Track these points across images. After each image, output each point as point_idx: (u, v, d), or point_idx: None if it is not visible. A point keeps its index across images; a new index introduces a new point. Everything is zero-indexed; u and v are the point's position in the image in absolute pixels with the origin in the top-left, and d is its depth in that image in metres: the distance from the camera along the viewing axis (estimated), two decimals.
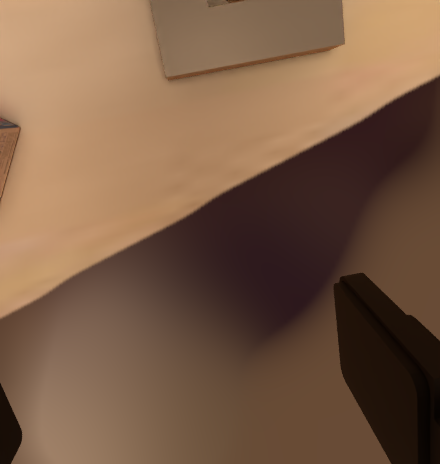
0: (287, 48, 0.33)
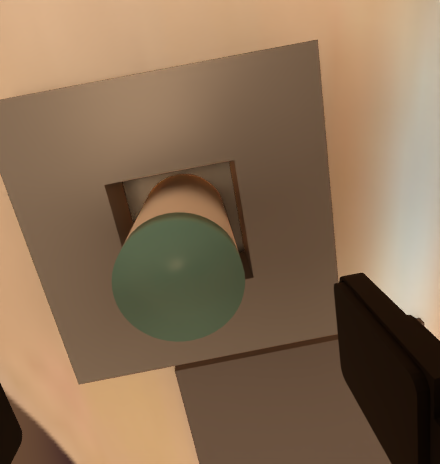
0: (59, 309, 0.21)
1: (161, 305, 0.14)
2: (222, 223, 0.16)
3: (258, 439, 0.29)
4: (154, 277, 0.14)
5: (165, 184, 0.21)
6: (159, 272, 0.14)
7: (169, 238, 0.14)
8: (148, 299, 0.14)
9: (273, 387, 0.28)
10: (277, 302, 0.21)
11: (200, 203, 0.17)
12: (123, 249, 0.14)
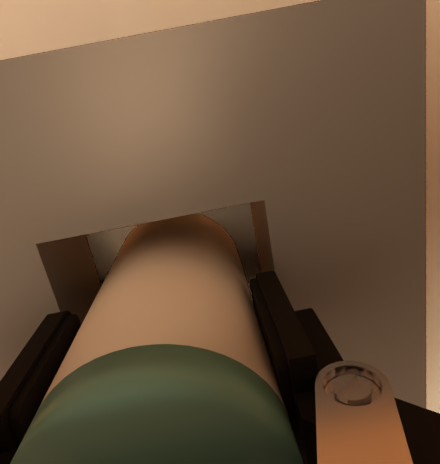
0: None
1: None
2: (252, 346, 0.08)
3: None
4: None
5: (146, 234, 0.13)
6: None
7: (132, 431, 0.05)
8: None
9: None
10: None
11: (206, 296, 0.08)
12: (18, 458, 0.06)
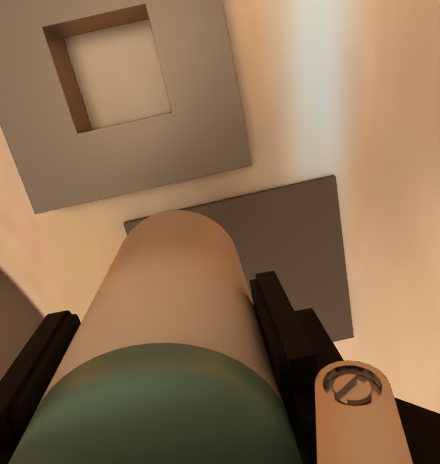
0: (14, 142, 0.25)
1: None
2: (251, 345, 0.08)
3: None
4: None
5: (146, 233, 0.13)
6: None
7: (131, 430, 0.05)
8: None
9: None
10: (193, 135, 0.26)
11: (205, 295, 0.08)
12: (17, 456, 0.05)
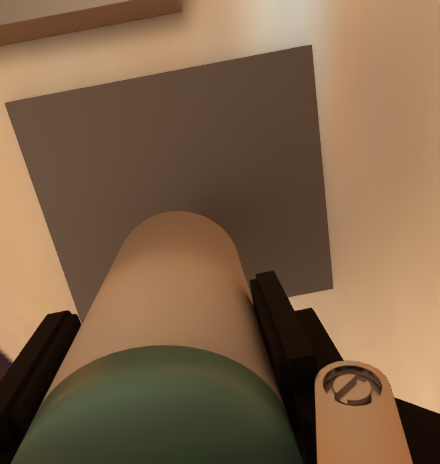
0: None
1: None
2: (252, 347, 0.08)
3: (122, 212, 0.24)
4: None
5: (146, 234, 0.13)
6: None
7: (132, 433, 0.05)
8: None
9: (131, 134, 0.23)
10: None
11: (206, 296, 0.08)
12: (18, 459, 0.05)
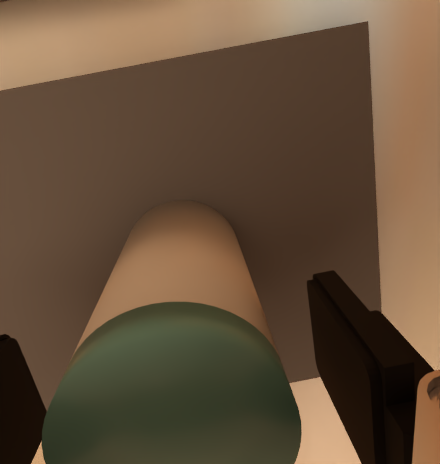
0: None
1: None
2: (252, 309, 0.09)
3: (87, 267, 0.17)
4: (126, 435, 0.07)
5: (155, 219, 0.14)
6: (136, 426, 0.07)
7: (156, 366, 0.07)
8: None
9: (97, 155, 0.15)
10: None
11: (212, 268, 0.10)
12: (63, 388, 0.07)
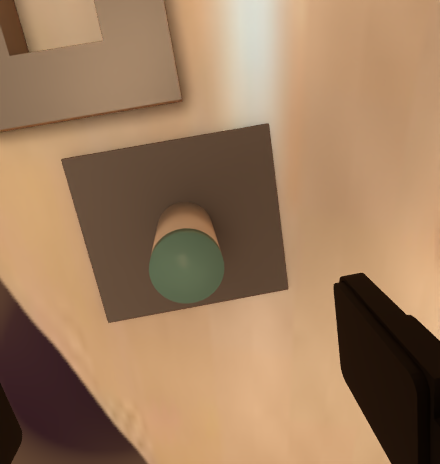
0: None
1: (176, 281, 0.25)
2: (212, 235, 0.27)
3: (138, 233, 0.34)
4: (173, 264, 0.25)
5: (174, 209, 0.32)
6: (176, 261, 0.25)
7: (183, 242, 0.24)
8: (168, 277, 0.25)
9: (146, 180, 0.33)
10: (124, 65, 0.27)
11: (199, 223, 0.27)
12: (157, 248, 0.24)
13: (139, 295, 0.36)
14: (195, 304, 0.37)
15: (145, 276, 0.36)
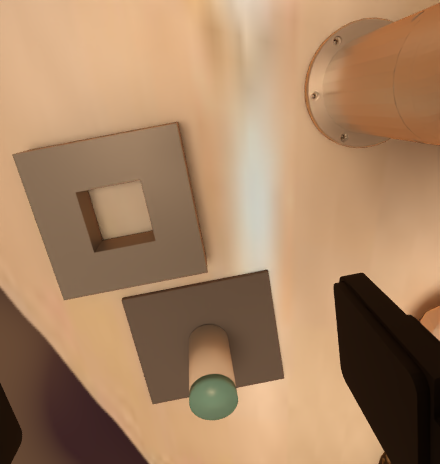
0: (53, 257, 0.40)
1: (206, 408, 0.39)
2: (230, 373, 0.40)
3: (175, 345, 0.48)
4: (205, 399, 0.38)
5: (203, 336, 0.45)
6: (207, 397, 0.38)
7: (212, 387, 0.38)
8: (201, 405, 0.39)
9: (181, 311, 0.46)
10: (169, 254, 0.40)
11: (221, 362, 0.41)
12: (195, 390, 0.38)
13: (175, 385, 0.50)
14: None
15: (179, 372, 0.49)
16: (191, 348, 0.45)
